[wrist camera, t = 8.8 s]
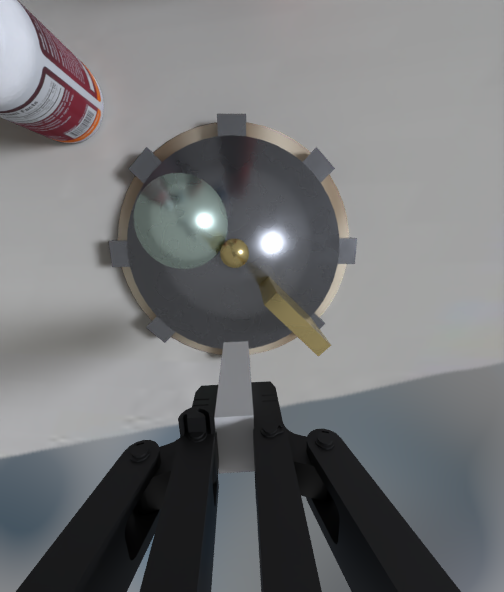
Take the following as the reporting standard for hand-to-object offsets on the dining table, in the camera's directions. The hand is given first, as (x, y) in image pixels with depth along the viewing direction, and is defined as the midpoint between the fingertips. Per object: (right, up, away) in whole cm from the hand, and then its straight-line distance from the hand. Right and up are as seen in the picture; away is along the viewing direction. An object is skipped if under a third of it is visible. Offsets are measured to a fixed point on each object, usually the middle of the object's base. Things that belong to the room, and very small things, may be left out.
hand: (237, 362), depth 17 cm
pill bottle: (-14, +20, +5) cm, 25 cm away
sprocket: (-1, +8, +9) cm, 12 cm away
